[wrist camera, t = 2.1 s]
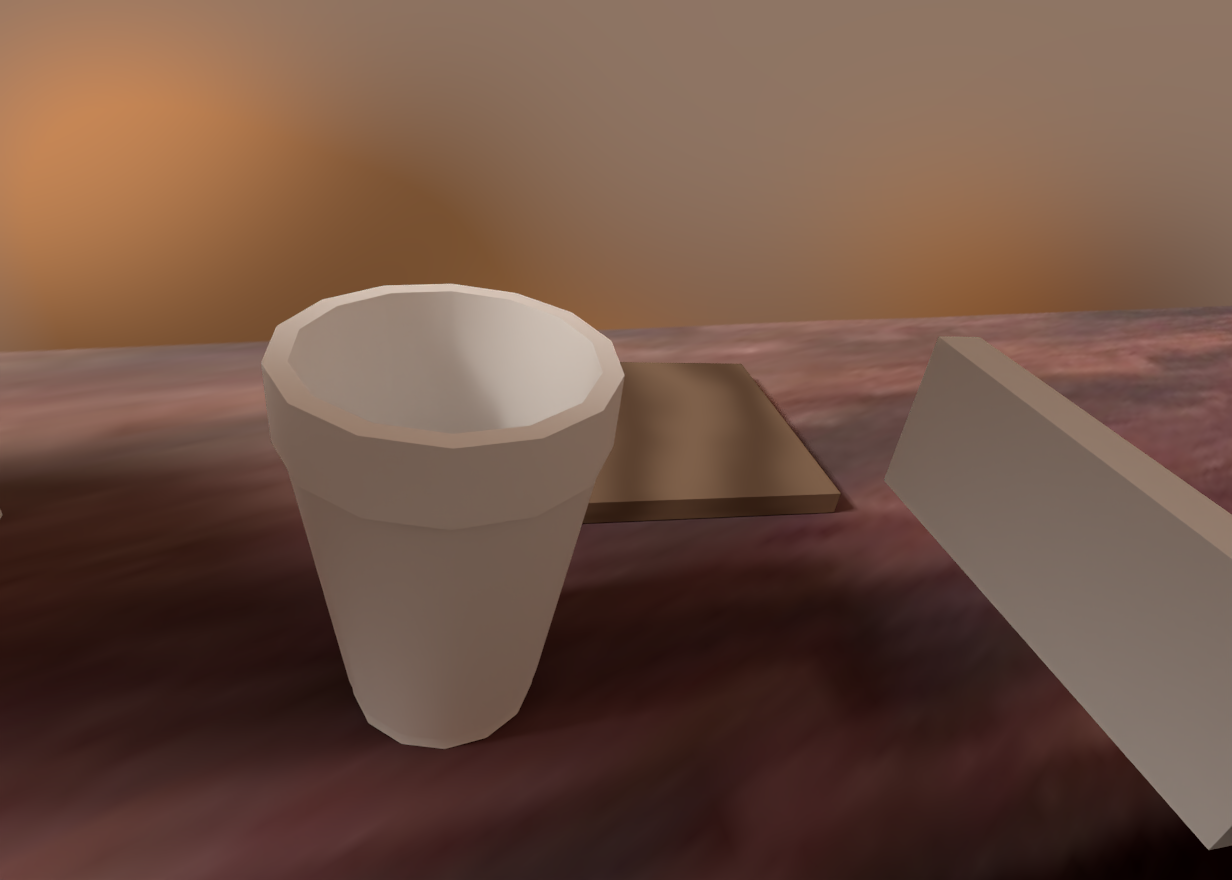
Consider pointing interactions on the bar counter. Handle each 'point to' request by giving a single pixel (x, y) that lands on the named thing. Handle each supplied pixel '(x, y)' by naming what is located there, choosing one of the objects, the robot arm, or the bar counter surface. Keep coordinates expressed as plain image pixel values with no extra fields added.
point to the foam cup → (441, 487)
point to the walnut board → (703, 450)
